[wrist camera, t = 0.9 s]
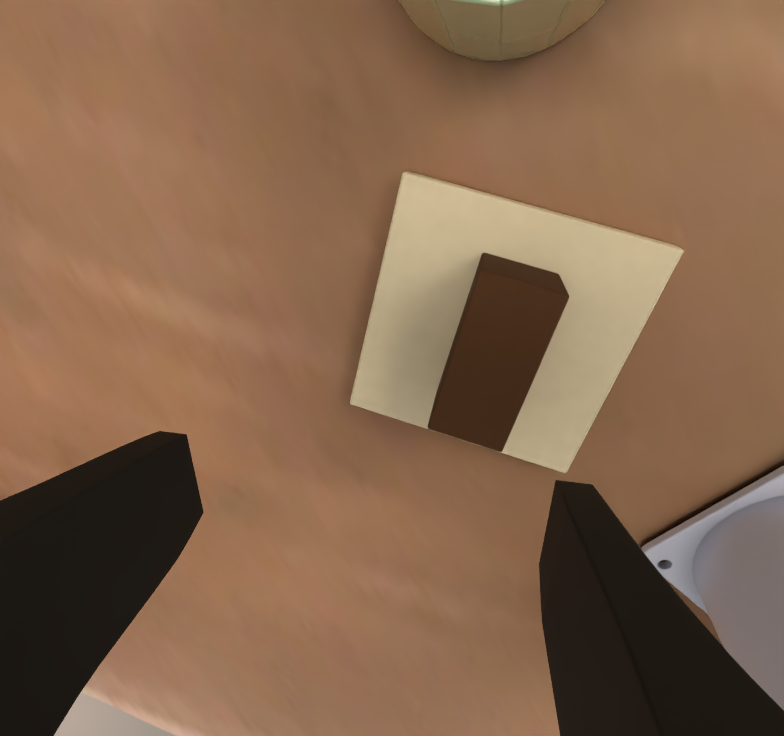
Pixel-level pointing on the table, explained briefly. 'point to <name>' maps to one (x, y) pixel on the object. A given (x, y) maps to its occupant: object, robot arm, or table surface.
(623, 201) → the table surface
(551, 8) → the cup
